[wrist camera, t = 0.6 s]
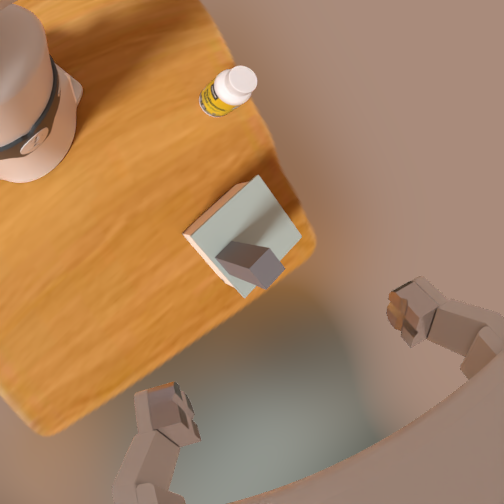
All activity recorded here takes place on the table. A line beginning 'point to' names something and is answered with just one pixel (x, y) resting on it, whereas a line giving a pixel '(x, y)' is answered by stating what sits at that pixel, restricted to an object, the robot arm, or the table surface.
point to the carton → (204, 218)
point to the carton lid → (248, 237)
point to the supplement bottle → (228, 91)
